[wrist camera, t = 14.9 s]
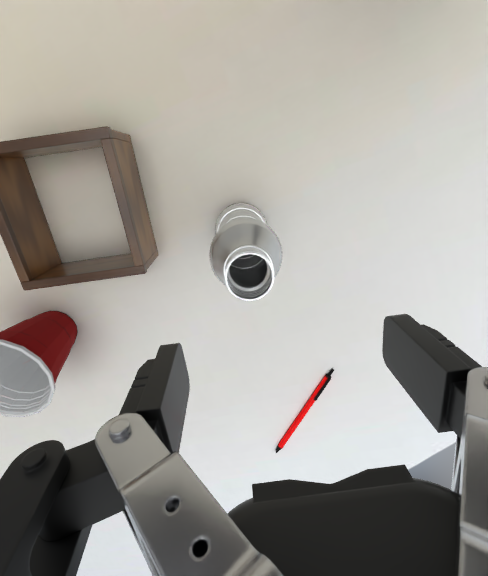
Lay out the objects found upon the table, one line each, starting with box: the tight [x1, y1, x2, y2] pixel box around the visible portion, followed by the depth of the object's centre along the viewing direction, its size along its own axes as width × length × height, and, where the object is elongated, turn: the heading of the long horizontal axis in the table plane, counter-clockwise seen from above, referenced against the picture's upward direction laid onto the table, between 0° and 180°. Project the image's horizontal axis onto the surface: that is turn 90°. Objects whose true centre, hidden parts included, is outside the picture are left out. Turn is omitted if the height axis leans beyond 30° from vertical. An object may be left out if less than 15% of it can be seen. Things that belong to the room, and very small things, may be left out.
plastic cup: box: [0, 311, 77, 417], centre depth 40 cm, size 11×11×12 cm
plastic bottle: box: [210, 203, 282, 301], centre depth 32 cm, size 6×7×20 cm
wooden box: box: [0, 127, 158, 290], centre depth 36 cm, size 15×14×7 cm
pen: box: [276, 369, 334, 453], centre depth 52 cm, size 1×19×1 cm, turn 154°
